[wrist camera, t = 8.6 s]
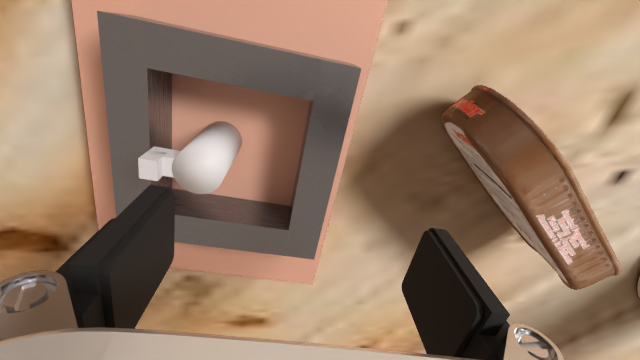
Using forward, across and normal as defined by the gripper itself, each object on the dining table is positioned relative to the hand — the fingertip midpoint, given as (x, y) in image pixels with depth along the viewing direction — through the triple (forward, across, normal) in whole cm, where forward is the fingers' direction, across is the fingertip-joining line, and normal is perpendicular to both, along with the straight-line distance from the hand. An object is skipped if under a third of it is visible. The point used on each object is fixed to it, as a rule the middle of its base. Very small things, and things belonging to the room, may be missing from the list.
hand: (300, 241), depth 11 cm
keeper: (+11, +5, 0) cm, 12 cm away
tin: (+11, -14, -1) cm, 18 cm away
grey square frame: (+9, +4, 0) cm, 10 cm away
